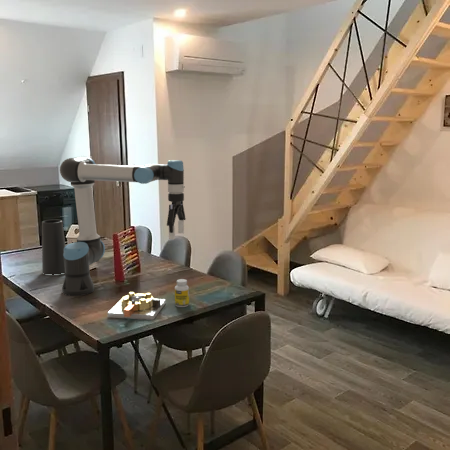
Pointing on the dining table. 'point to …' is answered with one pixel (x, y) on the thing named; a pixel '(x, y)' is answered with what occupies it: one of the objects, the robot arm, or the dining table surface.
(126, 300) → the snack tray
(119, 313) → the plate
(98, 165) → the robot arm
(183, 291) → the pill bottle
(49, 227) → the vase
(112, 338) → the dining table surface
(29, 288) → the dining table surface
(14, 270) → the dining table surface
